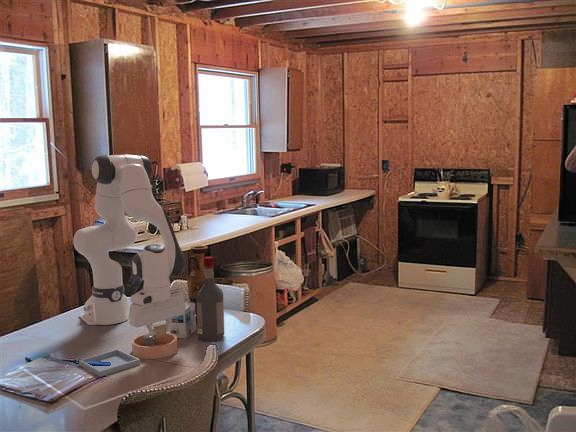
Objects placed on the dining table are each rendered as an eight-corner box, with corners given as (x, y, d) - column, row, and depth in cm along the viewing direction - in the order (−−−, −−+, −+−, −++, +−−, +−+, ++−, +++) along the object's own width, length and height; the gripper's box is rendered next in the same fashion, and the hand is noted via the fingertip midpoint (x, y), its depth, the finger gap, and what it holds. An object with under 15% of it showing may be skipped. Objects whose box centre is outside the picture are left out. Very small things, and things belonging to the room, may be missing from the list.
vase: (218, 317, 244) (215, 244, 240) (212, 325, 234) (209, 249, 229) (192, 316, 245) (189, 244, 241) (184, 325, 235) (181, 249, 231)
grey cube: (141, 347, 208) (141, 336, 207) (151, 344, 211) (151, 333, 210) (148, 350, 205) (147, 339, 204) (158, 347, 208) (157, 336, 207)
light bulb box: (186, 338, 219) (185, 310, 217) (169, 338, 220) (167, 309, 219) (196, 329, 229) (195, 302, 228) (179, 328, 231) (178, 301, 229)
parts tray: (79, 366, 194) (78, 360, 194) (118, 355, 204) (117, 348, 203) (100, 378, 184) (100, 371, 184) (140, 365, 194) (140, 359, 194)
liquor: (224, 333, 224) (222, 254, 220) (223, 342, 215) (220, 259, 211) (200, 334, 224) (197, 255, 219) (197, 342, 215) (194, 260, 210)
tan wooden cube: (151, 337, 203) (150, 325, 202) (161, 334, 206) (161, 323, 205) (158, 339, 200) (157, 328, 199) (168, 336, 203) (167, 325, 202)
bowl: (124, 352, 206) (123, 340, 205) (161, 341, 216) (160, 329, 216) (148, 363, 195) (147, 350, 195) (186, 351, 206) (185, 339, 205)
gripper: (177, 286, 210) (179, 324, 212) (125, 298, 196) (128, 338, 198) (188, 288, 206) (190, 327, 208) (136, 301, 192) (138, 343, 193)
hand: (159, 333), depth 203 cm, fingers closed on tan wooden cube, 4 cm apart
